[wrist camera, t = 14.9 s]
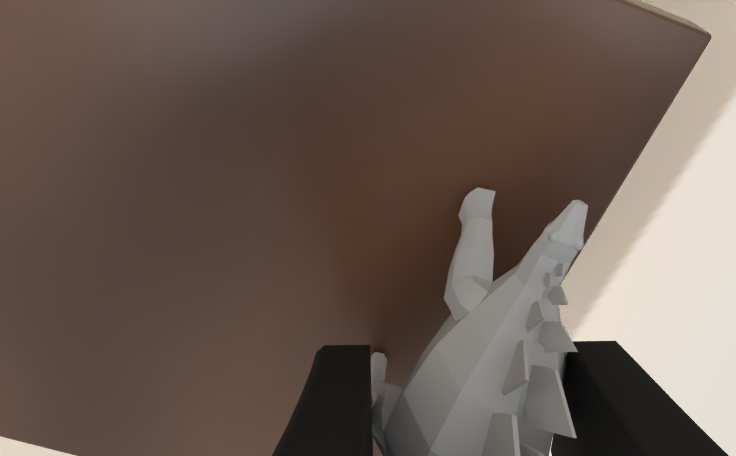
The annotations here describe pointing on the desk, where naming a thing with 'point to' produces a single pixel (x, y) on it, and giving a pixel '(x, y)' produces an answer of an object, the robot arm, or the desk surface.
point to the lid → (282, 190)
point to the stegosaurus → (488, 351)
